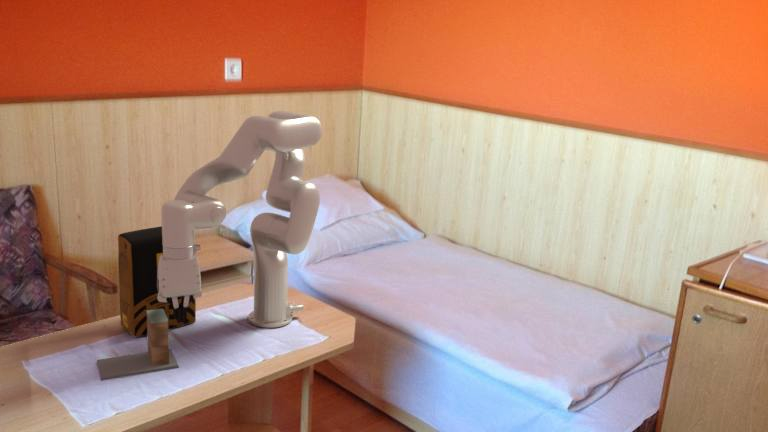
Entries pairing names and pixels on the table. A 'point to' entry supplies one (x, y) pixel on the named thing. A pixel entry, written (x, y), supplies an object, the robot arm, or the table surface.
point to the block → (158, 337)
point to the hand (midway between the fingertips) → (180, 320)
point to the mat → (131, 365)
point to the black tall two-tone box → (143, 281)
